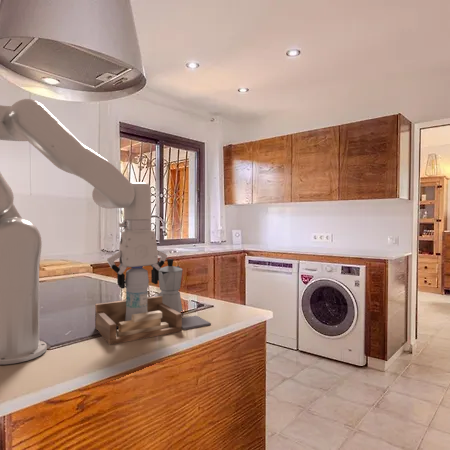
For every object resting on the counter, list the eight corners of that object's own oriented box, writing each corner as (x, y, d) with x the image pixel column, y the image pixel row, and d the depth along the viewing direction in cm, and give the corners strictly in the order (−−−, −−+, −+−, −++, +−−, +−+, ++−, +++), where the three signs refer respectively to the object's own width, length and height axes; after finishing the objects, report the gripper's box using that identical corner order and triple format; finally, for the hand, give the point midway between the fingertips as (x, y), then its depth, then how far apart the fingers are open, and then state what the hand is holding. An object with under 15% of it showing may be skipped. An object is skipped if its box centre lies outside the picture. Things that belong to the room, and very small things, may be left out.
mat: (183, 329, 101) (183, 327, 101) (170, 321, 109) (170, 319, 109) (210, 324, 106) (210, 322, 106) (196, 317, 114) (196, 315, 114)
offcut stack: (119, 340, 92) (119, 318, 92) (116, 337, 94) (116, 316, 94) (168, 331, 100) (169, 311, 100) (165, 328, 102) (165, 309, 102)
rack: (109, 344, 89) (109, 317, 89) (95, 328, 102) (95, 303, 101) (181, 331, 100) (181, 306, 100) (160, 317, 113) (160, 295, 112)
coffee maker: (175, 318, 112) (175, 261, 111) (149, 316, 114) (149, 260, 113) (190, 306, 126) (191, 256, 126) (167, 304, 128) (167, 255, 128)
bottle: (142, 333, 98) (143, 261, 97) (120, 331, 99) (120, 260, 98) (152, 325, 104) (152, 258, 104) (131, 324, 106) (131, 257, 105)
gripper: (110, 227, 93) (111, 292, 94) (171, 225, 103) (171, 284, 103) (103, 226, 99) (104, 286, 100) (160, 224, 109) (161, 279, 110)
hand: (138, 285), depth 102 cm, fingers open, 9 cm apart
